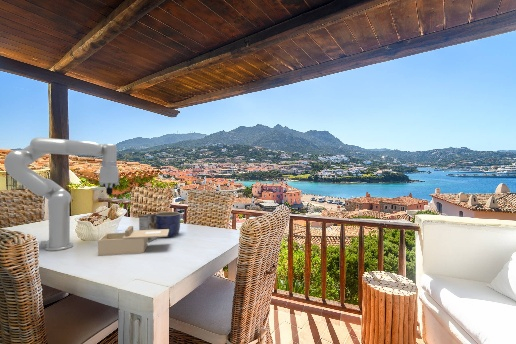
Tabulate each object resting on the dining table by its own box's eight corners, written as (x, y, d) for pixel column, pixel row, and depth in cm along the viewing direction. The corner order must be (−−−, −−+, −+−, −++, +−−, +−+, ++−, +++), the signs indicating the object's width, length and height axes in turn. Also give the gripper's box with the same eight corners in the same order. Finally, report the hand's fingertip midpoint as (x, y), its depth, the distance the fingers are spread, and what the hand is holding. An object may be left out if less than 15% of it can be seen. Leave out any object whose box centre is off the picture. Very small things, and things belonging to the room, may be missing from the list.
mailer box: (98, 255, 143) (98, 240, 142) (106, 247, 157) (106, 233, 157) (143, 252, 148) (143, 238, 148) (147, 245, 163) (147, 231, 162)
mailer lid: (122, 238, 145) (122, 231, 145) (128, 231, 160) (128, 225, 160) (167, 236, 151) (167, 230, 151) (169, 230, 166) (169, 224, 166)
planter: (170, 239, 174) (170, 216, 174) (148, 237, 180) (148, 214, 179) (184, 233, 190) (185, 212, 190) (164, 231, 195) (165, 210, 195)
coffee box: (147, 238, 178) (147, 213, 177) (156, 238, 176) (156, 214, 176) (138, 242, 169) (138, 216, 168) (148, 242, 167) (148, 216, 167)
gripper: (93, 164, 160) (93, 195, 161) (121, 164, 164) (121, 195, 165) (97, 164, 168) (97, 194, 168) (124, 164, 171) (124, 193, 172)
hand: (109, 194), depth 166 cm, fingers closed
